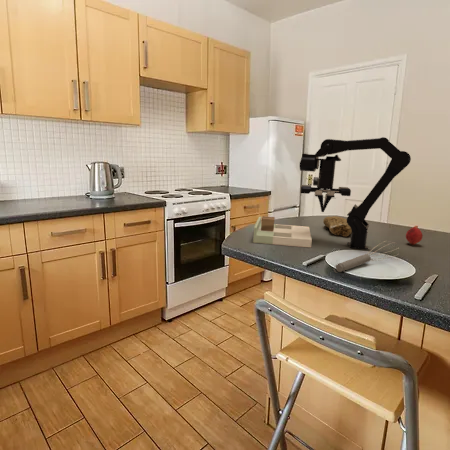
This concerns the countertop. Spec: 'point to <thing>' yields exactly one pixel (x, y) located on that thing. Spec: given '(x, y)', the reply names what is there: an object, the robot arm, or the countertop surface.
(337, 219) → the sponge
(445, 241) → the countertop surface
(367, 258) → the kitchen whisk
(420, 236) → the onion
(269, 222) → the block
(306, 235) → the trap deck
